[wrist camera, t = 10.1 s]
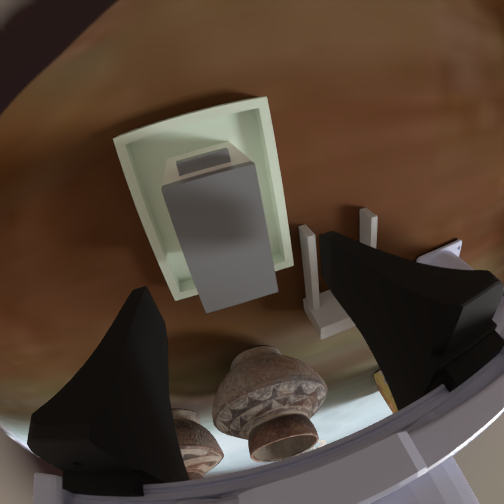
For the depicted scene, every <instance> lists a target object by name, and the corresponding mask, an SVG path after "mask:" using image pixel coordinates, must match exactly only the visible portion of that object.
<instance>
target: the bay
mask: <svg viewBox="0 0 504 504" xmlns="http://www.w3.org/2000/svg"><path fill="white" fill-rule="evenodd" d="M298 228H299V236H300V245H301V254H302V263H303V272H304V282H305V292H306V298H304V299H303V303H304V311H305V313H306V314H307V316H308V318H309V320H310V321H311V323H312V325H313V327H314V328H315V330H316V332H317V334H318V335H319V337H320V339H324V338H327V337H329V336H332V335H334V334H337V333H339V332H342V331H344V330H347V329H349V328H352V327H354V326H356V325H355V324H354V322H353V321H352V320H351V318H350V317H349V316H348V314H347V313H346V312H345V310H344V309H343V308H342V306H341V305H340V304H339V302H338V301H337V300H336V298H335V297H334V295H333V294H332V293H331V291H330V290H327V291H324V292H322V293H319V282H318V267H317V253H316V241H315V234H314V233H313V232H312V231H311V230H310V229H309V228H308V227H307V225H306V224H305V225H301V226H298ZM360 242H361V243H363V244H366V245H368V246H370V247H373V248H375V249H376V243H377V215H375V214H374V213H373V212H371V211H370V210H368V209H367V208H366V207H365V208H361V209H360Z"/></svg>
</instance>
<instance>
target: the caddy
mask: <svg viewBox="0 0 504 504" xmlns="http://www.w3.org/2000/svg"><path fill="white" fill-rule="evenodd" d="M161 191H162V194H163V197H164V200H165V203H166V206H167V209H168V212H169V215H170V218H171V221H172V223H173V226H174V229H175V232H176V235H177V238H178V241H179V243H180V246H181V249H182V252H183V254H184V257H185V260H186V263H187V265H188V268H189V271H190V273H191V276H192V279H193V281H194V284H195V286H196V289H197V292H198V294H199V297H200V299H201V302H202V304H203V307H204V309H205V312H206V313H210V312H213V311H217V310H220V309H224V308H227V307H230V306H234V305H237V304H240V303H244V302H247V301H250V300H254V299H257V298H260V297H263V296H267V295H270V294H273V293H276V292H278V287H277V281H276V275H275V269H274V264H273V258H272V252H271V247H270V241H269V236H268V230H267V225H266V219H265V214H264V209H263V203H262V198H261V193H260V187H259V182H258V177H257V172H256V167H255V163H253V162H252V161H251V160H250V159H249V158H248V157H247V156H245V155H244V154H243V153H242V152H241V151H240V150H239V149H237V148H236V147H235V146H234V145H233V144H232V143H230V142H229V141H228V142H224V143H220V144H216V145H212V146H208V147H205V148H201V149H197V150H194V151H190V152H187V153H183V154H180V155H176V156H173V157H170V158H167V161H166V166H165V171H164V177H163V183H162V189H161Z"/></svg>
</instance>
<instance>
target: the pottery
mask: <svg viewBox="0 0 504 504" xmlns="http://www.w3.org/2000/svg"><path fill="white" fill-rule="evenodd" d="M327 392H328V390H327V386H326V384H325V382H324V380H323V379H322V378H321V377H320V376H319V375H318V374H317V373H316V372H315V371H314V370H313V369H312V368H311V367H309V366H308V365H307V364H305V363H304V362H302V361H300V360H298V359H295V358H291V357H288V356H284V355H282V354H281V353H280V351H279V350H278V349H277V348H274V347H271V346H258V347H254V348H251V349H248V350H246V351H244V352H242V353H240V354H239V355H238V356H237V357H236V358H234V360H233V361H232V363H231V367H230V372H229V373H228V374H227V375H226V376H225V378H224V379H223V381H222V382H221V384H220V386H219V388H218V390H217V393H216V395H215V398H214V402H213V407H212V417H213V423H214V425H215V427H216V428H217V429H218V430H219V431H221V432H222V433H225V434H227V435H230V436H234V437H238V438H242V439H247V440H248V446H249V452H250V457H251V459H252V460H254V461H257V462H274V461H280V460H284V459H287V458H290V457H293V456H296V455H298V454H301V453H303V452H304V451H306V450H308V449H310V448H311V447H313V446H314V445H315V444H316V443H317V442H318V440H319V437H318V434H317V431H316V429H315V427H314V425H313V424H312V422H311V421H310V420H309V419H310V418H311V417H312V416H313V415H314V414H315V413H316V412H317V411H318V409H319V408H320V407H321V405H322V404H323V402H324V400H325V398H326V396H327ZM172 415H173V420H174V425H175V430H176V434H177V439H178V442H179V446H180V450H181V454H182V457H183V461H184V464H185V467H186V470H187V473H188V476H189V479H190V480H196V479H202V478H203V475H204V474H205V473H207V472H208V471H210V470H211V469H212V468H214V467H215V466H216V465H218V464H219V463H220V461H221V460H222V459H223V457H224V454H223V452H222V450H221V448H220V446H219V444H218V443H217V441H216V439H215V438H214V437H213V435H212V434H211V433H210V432H209V431H208V430H207V429H206V428H204V427H203V426H202V425H200V417H199V415H198V414H196V413H194V412H192V411H189V410H183V409H175V410H172Z"/></svg>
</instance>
